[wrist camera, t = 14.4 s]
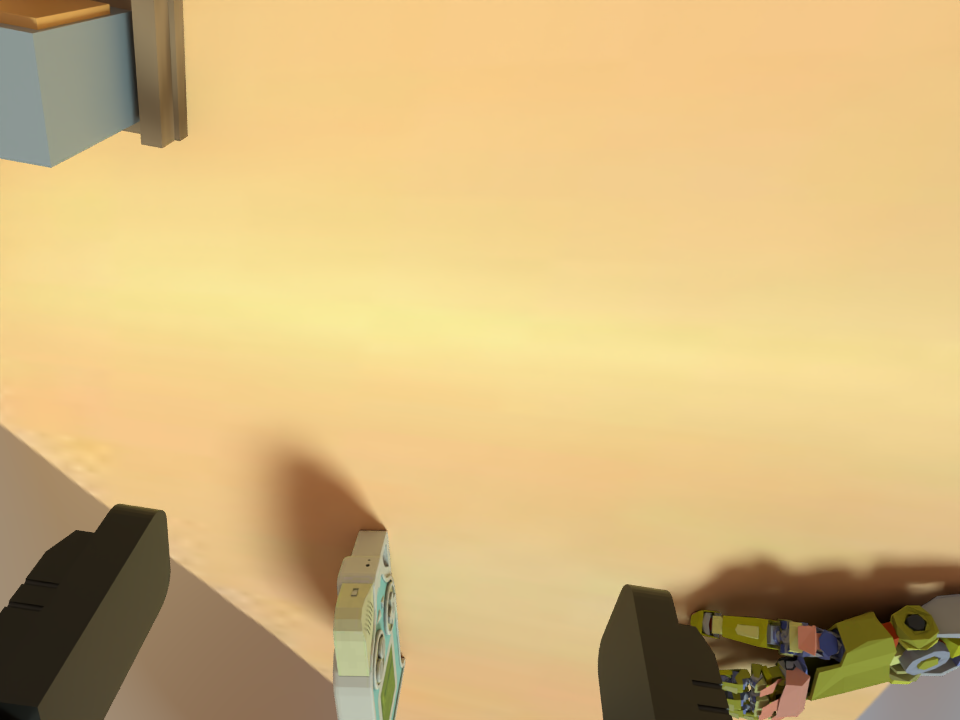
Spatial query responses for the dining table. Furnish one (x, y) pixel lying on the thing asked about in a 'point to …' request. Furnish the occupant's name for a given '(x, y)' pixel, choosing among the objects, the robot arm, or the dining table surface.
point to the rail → (158, 69)
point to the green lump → (835, 655)
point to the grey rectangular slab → (367, 633)
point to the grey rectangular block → (64, 78)
